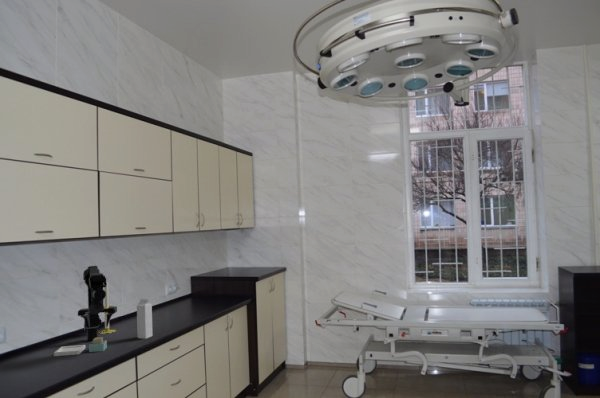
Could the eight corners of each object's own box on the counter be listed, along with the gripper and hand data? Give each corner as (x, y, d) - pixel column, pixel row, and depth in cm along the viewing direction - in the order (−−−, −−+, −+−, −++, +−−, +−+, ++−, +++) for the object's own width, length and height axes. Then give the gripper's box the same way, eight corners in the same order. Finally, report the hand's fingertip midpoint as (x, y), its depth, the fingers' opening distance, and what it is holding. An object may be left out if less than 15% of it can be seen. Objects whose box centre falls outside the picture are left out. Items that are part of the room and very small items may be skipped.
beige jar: (95, 349, 245) (94, 337, 245) (103, 348, 246) (102, 337, 246) (93, 351, 241) (92, 339, 241) (101, 350, 242) (100, 339, 242)
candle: (119, 330, 287) (118, 278, 288) (107, 334, 277) (106, 280, 279) (107, 329, 290) (106, 278, 292) (94, 333, 281) (93, 280, 283)
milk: (144, 335, 271) (143, 298, 272) (152, 336, 269) (151, 298, 270) (137, 338, 265) (136, 300, 266) (145, 338, 263) (144, 300, 264)
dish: (61, 350, 246) (61, 346, 246) (85, 348, 248) (85, 344, 248) (53, 356, 234) (53, 352, 234) (78, 354, 236) (78, 350, 236)
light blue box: (92, 348, 246) (92, 341, 247) (106, 347, 248) (106, 340, 248) (89, 352, 239) (88, 344, 239) (103, 350, 241) (103, 343, 241)
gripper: (74, 301, 235) (74, 332, 234) (112, 299, 239) (113, 329, 238) (80, 298, 246) (81, 327, 245) (117, 295, 250) (117, 324, 249)
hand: (98, 327), depth 244 cm, fingers open, 9 cm apart
